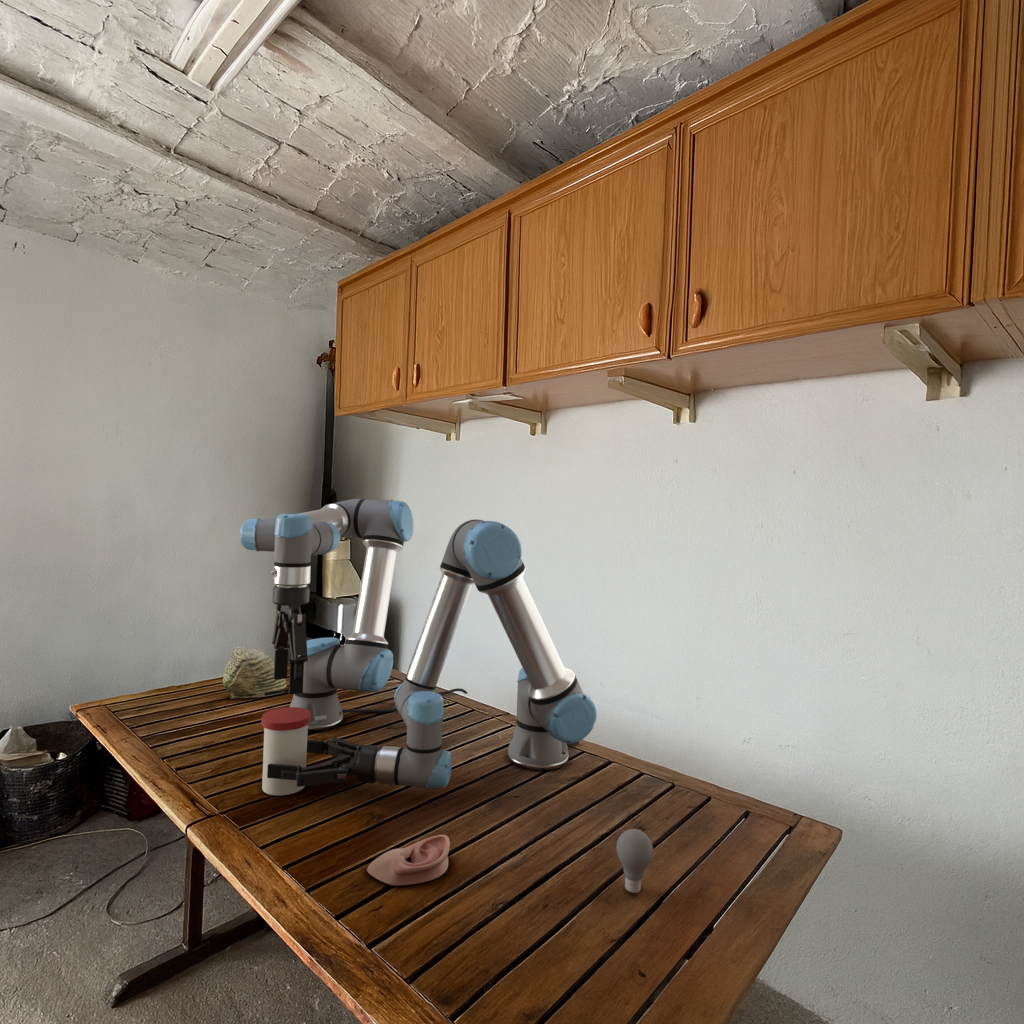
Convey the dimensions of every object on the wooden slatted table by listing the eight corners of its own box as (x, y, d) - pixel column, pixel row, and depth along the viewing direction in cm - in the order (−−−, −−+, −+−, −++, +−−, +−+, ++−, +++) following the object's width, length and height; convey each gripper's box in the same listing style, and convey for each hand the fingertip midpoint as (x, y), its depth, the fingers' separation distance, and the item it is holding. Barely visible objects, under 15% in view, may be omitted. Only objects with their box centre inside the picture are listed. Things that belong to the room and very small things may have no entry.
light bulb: (610, 879, 108) (613, 822, 108) (644, 879, 109) (647, 822, 109) (619, 902, 102) (622, 840, 102) (655, 901, 103) (658, 840, 103)
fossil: (218, 695, 195) (220, 647, 195) (278, 685, 208) (279, 640, 207) (228, 703, 189) (230, 653, 188) (289, 692, 201) (290, 645, 201)
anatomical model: (359, 856, 105) (387, 822, 116) (358, 879, 105) (386, 843, 116) (435, 869, 102) (456, 833, 114) (434, 893, 103) (455, 855, 114)
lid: (280, 711, 144) (280, 704, 144) (319, 717, 141) (320, 710, 141) (251, 726, 134) (251, 719, 134) (293, 733, 132) (293, 725, 131)
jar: (278, 774, 143) (281, 707, 143) (313, 780, 141) (316, 713, 141) (253, 791, 135) (255, 720, 135) (289, 798, 133) (292, 726, 132)
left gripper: (260, 579, 145) (256, 674, 145) (289, 594, 125) (285, 703, 126) (293, 577, 149) (290, 670, 149) (326, 592, 130) (322, 698, 130)
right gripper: (359, 810, 123) (254, 801, 125) (393, 758, 148) (305, 752, 150) (361, 772, 123) (255, 764, 125) (394, 726, 148) (306, 720, 150)
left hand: (287, 685), depth 138 cm, fingers open, 11 cm apart
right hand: (282, 757), depth 137 cm, fingers open, 13 cm apart
